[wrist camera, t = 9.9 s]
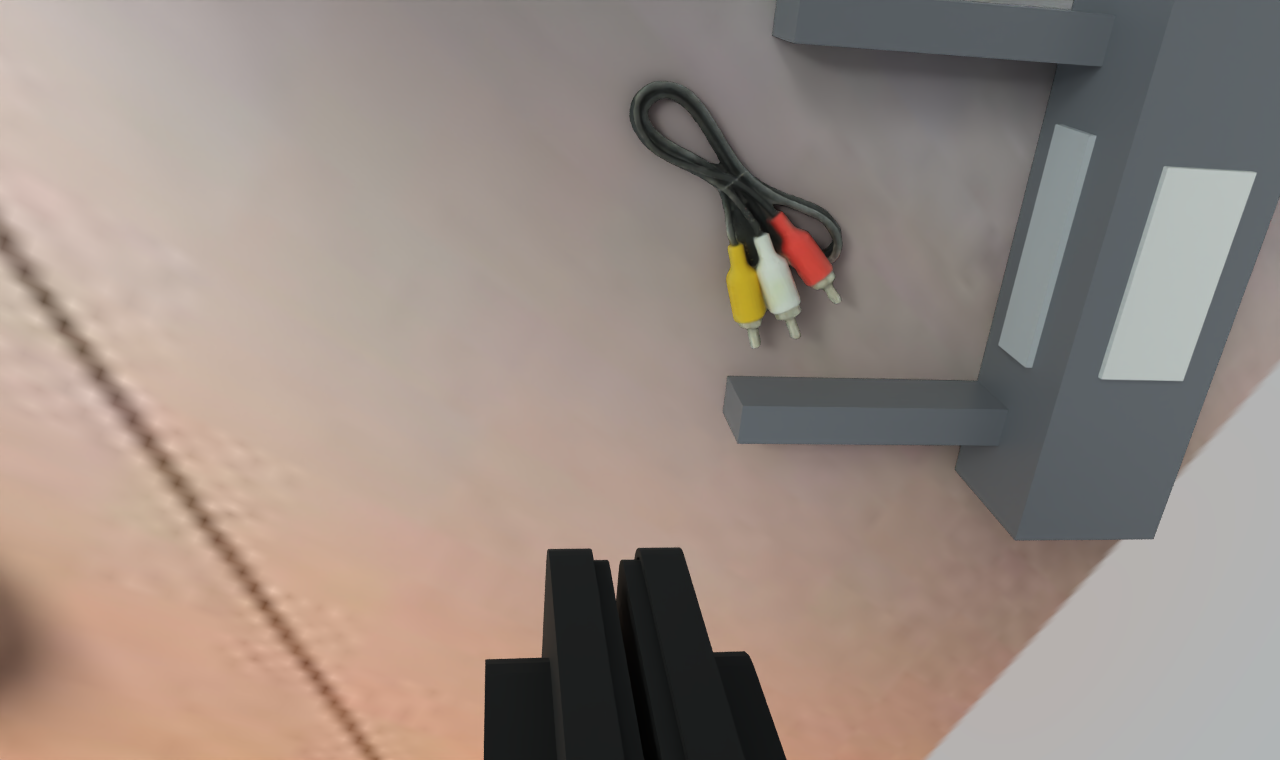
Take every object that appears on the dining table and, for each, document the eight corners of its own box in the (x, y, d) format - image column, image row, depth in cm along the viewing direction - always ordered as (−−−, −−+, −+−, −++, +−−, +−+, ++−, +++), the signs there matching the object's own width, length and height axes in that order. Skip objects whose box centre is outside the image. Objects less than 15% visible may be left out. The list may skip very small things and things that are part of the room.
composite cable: (610, 102, 30) (618, 115, 28) (738, 24, 30) (757, 30, 28) (743, 337, 35) (760, 365, 32) (858, 272, 34) (883, 295, 32)
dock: (790, -105, 28) (847, -114, 24) (1246, -59, 31) (1379, -59, 26) (715, 468, 37) (746, 546, 32) (1078, 470, 39) (1156, 542, 34)
